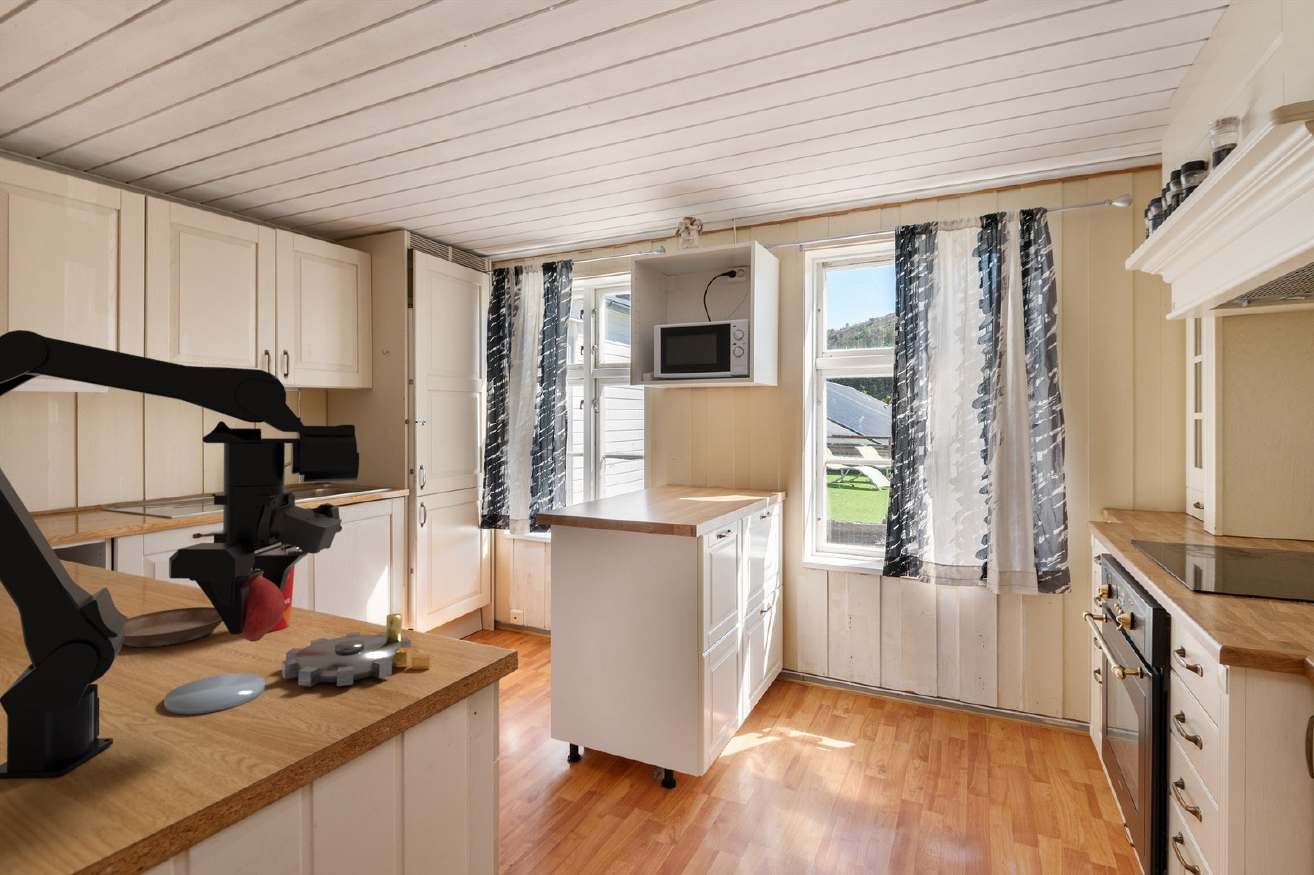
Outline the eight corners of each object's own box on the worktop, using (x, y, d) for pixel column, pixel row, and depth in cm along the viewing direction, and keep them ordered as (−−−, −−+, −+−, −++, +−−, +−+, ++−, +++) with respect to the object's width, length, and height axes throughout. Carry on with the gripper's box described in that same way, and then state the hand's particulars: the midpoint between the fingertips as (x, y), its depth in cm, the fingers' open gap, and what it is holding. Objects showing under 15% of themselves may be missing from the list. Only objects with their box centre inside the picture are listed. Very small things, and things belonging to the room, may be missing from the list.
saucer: (81, 647, 93) (81, 629, 93) (178, 619, 108) (178, 603, 108) (160, 657, 90) (160, 638, 90) (249, 627, 104) (250, 610, 104)
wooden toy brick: (421, 679, 83) (421, 666, 83) (304, 679, 83) (304, 667, 83) (439, 657, 91) (439, 646, 91) (332, 657, 91) (332, 646, 91)
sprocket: (436, 655, 90) (437, 617, 90) (337, 696, 76) (338, 651, 76) (358, 637, 97) (359, 602, 97) (254, 672, 83) (255, 631, 83)
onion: (254, 652, 67) (255, 577, 67) (208, 648, 68) (209, 573, 68) (296, 635, 73) (296, 565, 73) (253, 631, 74) (253, 562, 74)
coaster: (234, 713, 72) (234, 706, 72) (142, 714, 72) (142, 707, 72) (280, 679, 82) (280, 673, 82) (200, 679, 82) (200, 673, 82)
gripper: (285, 493, 61) (284, 654, 62) (363, 478, 80) (362, 602, 80) (165, 492, 61) (164, 654, 61) (272, 477, 80) (271, 602, 80)
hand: (253, 624), depth 71 cm, fingers closed on onion, 6 cm apart
